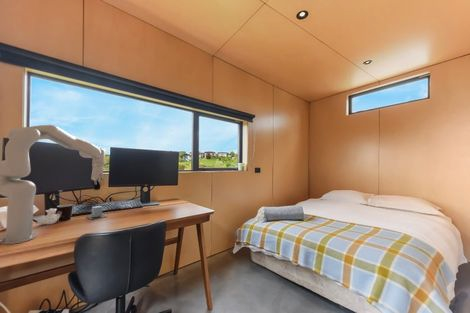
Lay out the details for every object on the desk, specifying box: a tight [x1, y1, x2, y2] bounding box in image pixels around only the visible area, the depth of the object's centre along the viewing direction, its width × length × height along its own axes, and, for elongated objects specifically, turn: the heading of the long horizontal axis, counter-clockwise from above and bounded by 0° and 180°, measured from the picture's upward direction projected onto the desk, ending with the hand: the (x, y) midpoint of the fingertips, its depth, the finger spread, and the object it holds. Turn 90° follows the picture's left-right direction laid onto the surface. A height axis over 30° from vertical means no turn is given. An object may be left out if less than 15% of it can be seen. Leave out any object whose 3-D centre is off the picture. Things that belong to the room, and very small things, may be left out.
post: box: [86, 213, 108, 221], centre depth 147 cm, size 10×10×7 cm
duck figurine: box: [37, 208, 60, 226], centre depth 131 cm, size 12×8×11 cm
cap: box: [91, 205, 103, 217], centre depth 147 cm, size 5×5×7 cm
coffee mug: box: [54, 203, 74, 222], centre depth 140 cm, size 12×9×10 cm
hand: (96, 189), depth 147 cm, fingers closed
